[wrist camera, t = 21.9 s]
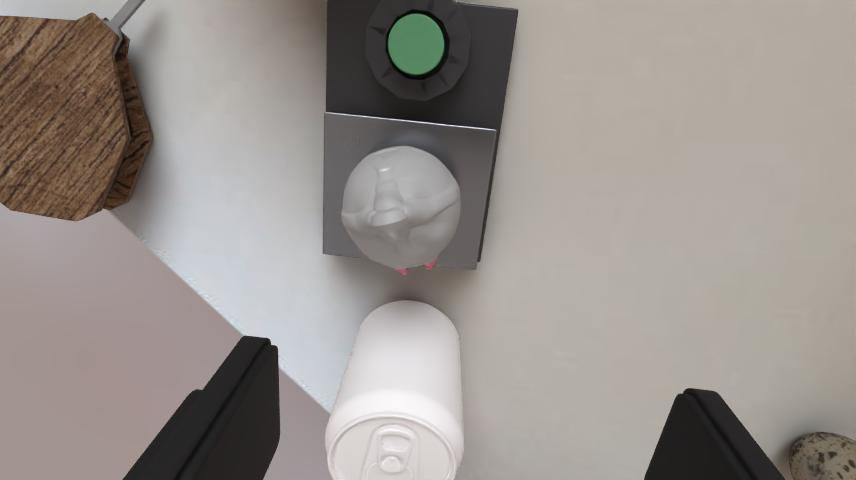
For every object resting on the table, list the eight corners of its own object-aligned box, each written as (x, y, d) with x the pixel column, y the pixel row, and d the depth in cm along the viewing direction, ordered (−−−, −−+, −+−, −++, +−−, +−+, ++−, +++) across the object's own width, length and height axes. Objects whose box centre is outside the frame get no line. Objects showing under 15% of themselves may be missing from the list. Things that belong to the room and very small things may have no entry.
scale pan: (327, 110, 27) (324, 111, 26) (495, 127, 27) (497, 129, 26) (325, 249, 30) (322, 254, 30) (475, 265, 30) (476, 270, 30)
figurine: (371, 257, 30) (346, 323, 22) (339, 151, 27) (299, 187, 20) (471, 237, 29) (479, 299, 21) (447, 126, 26) (447, 153, 19)
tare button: (393, 13, 25) (389, 10, 24) (447, 19, 25) (447, 16, 24) (389, 71, 27) (386, 72, 25) (441, 76, 27) (441, 77, 25)
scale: (332, -17, 27) (320, -25, 25) (516, 2, 27) (524, -4, 25) (328, 239, 33) (318, 255, 31) (478, 254, 33) (481, 272, 31)
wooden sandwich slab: (41, -115, 24) (97, -76, 29) (-133, 103, 26) (-52, 105, 31) (228, 65, 27) (251, 73, 32) (62, 248, 29) (107, 230, 34)
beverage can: (353, 374, 38) (314, 507, 27) (362, 288, 35) (322, 397, 24) (450, 388, 38) (452, 526, 27) (468, 304, 35) (477, 419, 24)
